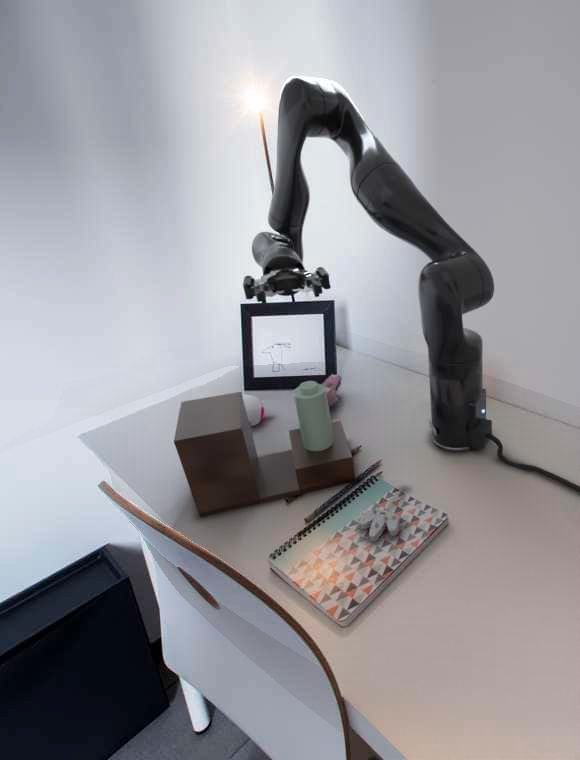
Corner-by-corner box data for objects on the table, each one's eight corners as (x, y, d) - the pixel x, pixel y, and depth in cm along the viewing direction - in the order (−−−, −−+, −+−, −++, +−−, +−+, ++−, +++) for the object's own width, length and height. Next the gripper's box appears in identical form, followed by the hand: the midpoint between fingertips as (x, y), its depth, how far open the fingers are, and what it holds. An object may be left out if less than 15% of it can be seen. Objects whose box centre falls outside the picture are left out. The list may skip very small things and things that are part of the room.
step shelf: (344, 443, 97) (333, 375, 90) (356, 481, 87) (345, 408, 80) (204, 472, 90) (181, 401, 84) (199, 517, 81) (173, 441, 74)
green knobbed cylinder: (339, 437, 90) (330, 380, 84) (323, 453, 86) (312, 394, 80) (315, 432, 91) (304, 375, 86) (297, 448, 87) (285, 389, 82)
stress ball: (266, 443, 104) (281, 415, 102) (225, 432, 99) (240, 403, 97) (261, 423, 110) (275, 396, 108) (222, 412, 105) (236, 384, 103)
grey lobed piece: (357, 542, 75) (355, 528, 74) (368, 491, 85) (366, 478, 84) (397, 541, 75) (396, 527, 74) (404, 490, 85) (402, 477, 84)
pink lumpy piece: (327, 422, 106) (339, 395, 103) (306, 414, 106) (316, 386, 102) (337, 398, 115) (348, 372, 112) (317, 390, 114) (327, 364, 111)
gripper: (239, 254, 96) (239, 277, 83) (318, 246, 100) (330, 266, 87) (248, 294, 100) (249, 322, 86) (324, 284, 104) (337, 310, 90)
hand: (290, 294), depth 87 cm, fingers open, 8 cm apart
